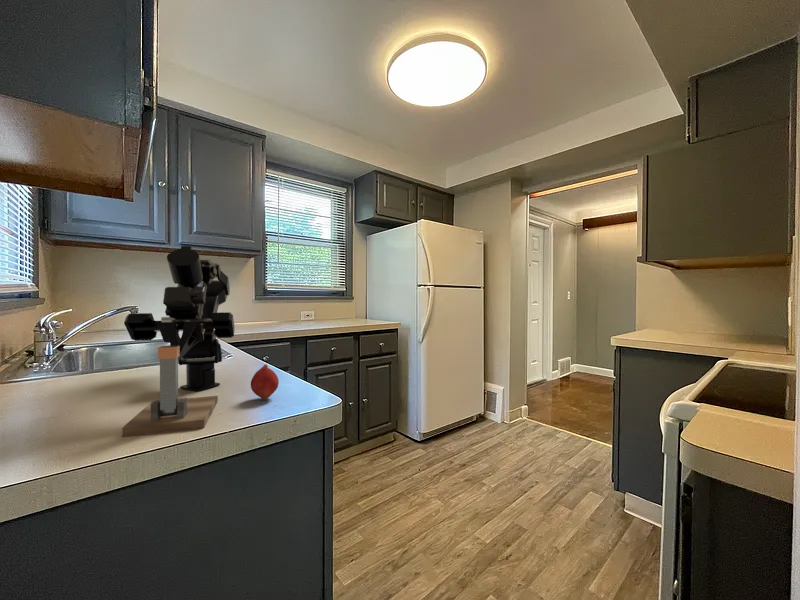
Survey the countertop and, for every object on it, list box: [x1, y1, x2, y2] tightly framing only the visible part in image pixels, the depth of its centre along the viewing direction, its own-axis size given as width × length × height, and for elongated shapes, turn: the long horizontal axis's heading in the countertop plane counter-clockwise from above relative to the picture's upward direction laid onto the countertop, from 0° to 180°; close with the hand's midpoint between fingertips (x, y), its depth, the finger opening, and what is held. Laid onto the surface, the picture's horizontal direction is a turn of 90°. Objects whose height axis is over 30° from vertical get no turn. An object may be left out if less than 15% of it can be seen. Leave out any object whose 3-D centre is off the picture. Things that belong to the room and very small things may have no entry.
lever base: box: [121, 395, 219, 438], centre depth 67 cm, size 15×12×4 cm
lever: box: [157, 345, 180, 416], centre depth 62 cm, size 2×3×12 cm
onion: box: [250, 363, 280, 401], centre depth 78 cm, size 6×6×8 cm
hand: (175, 359), depth 66 cm, fingers closed
